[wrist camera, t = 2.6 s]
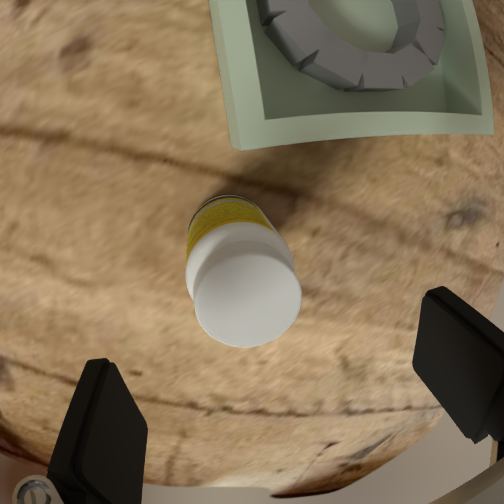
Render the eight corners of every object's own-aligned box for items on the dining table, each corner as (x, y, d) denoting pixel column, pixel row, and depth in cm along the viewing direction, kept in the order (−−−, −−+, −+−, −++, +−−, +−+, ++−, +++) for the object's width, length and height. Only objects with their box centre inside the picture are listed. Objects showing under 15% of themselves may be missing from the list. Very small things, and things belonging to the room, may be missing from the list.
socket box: (197, -75, 11) (198, -114, 7) (410, -55, 13) (443, -74, 9) (231, 146, 17) (241, 150, 13) (450, 129, 19) (494, 135, 15)
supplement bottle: (172, 232, 19) (154, 304, 11) (230, 176, 18) (255, 212, 10) (226, 283, 20) (245, 373, 13) (283, 234, 20) (336, 301, 12)
